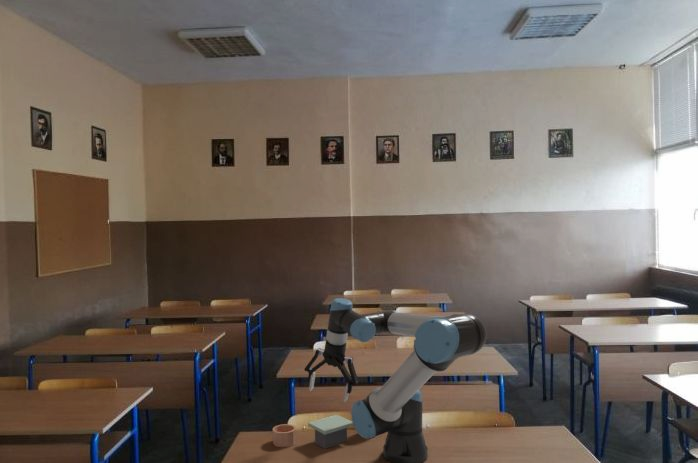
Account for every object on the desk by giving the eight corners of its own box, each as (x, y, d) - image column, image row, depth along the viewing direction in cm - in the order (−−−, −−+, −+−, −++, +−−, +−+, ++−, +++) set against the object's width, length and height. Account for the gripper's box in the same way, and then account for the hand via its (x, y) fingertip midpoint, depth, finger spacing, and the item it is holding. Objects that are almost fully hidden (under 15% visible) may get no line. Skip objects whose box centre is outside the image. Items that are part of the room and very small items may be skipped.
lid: (353, 425, 180) (353, 422, 180) (325, 434, 172) (324, 431, 172) (336, 417, 188) (336, 414, 188) (308, 426, 180) (308, 422, 180)
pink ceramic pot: (300, 442, 180) (300, 429, 180) (280, 449, 175) (280, 435, 175) (288, 435, 186) (288, 422, 186) (268, 441, 181) (268, 428, 181)
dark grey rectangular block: (346, 441, 181) (346, 424, 181) (324, 448, 175) (324, 431, 175) (337, 436, 186) (336, 420, 186) (315, 443, 179) (314, 426, 179)
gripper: (372, 346, 177) (363, 400, 181) (308, 329, 184) (301, 381, 188) (366, 354, 170) (357, 409, 174) (300, 335, 177) (293, 389, 181)
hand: (328, 395), depth 181 cm, fingers open, 13 cm apart
